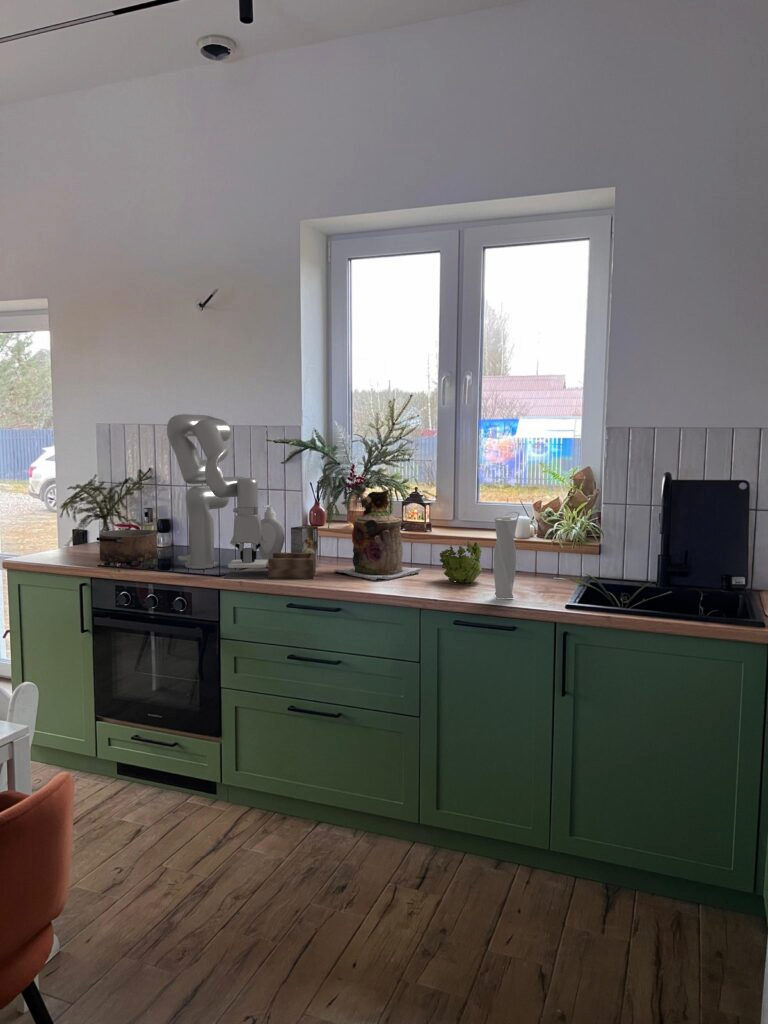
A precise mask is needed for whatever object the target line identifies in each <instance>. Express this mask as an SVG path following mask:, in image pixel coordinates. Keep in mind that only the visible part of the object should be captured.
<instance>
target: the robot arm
mask: <svg viewBox="0 0 768 1024" xmlns="http://www.w3.org/2000/svg"><path fill="white" fill-rule="evenodd" d="M231 434H232V429H231V426H230V425H229V423H228V422H227V421H226V420H224V419H221V418H218V417H213V416H210V415H205V414H191V413H190V414H187V413H185V414H184V413H183V414H175V415H173V416H172V417H170V418H169V420H168V422H167V426H166V435H167V439H168V442H169V444H170V446H171V448H172V450H173V452H174V455H175V457H176V461H177V464H178V467H179V471H180V473H181V477H182V478H183V481H184V483H186V484H188V485H194V486H191V487H189V489H187V491H186V493H185V504H186V509H187V516H188V519H187V520H188V555H187V554H186V556H184V555H178V557H177V560H178V562H185V564H184V567H185V568H186V569H195V570H198V569H199V570H200V569H202V570H203V569H204V570H205V569H206V568H207V569H212V568H213V567H214V568H217V567H219V562H218V561H215V528H214V527H215V522H214V518H213V516H212V514H211V512H210V511H209V510H217V509H224V508H225V507H227V506H228V505H229V501H230V498H236V504H237V505H236V508H233V509H232V510H233V511H232V512H233V513H235V514H236V515H234V521H233V534H232V538H231V540H230V542H229V544H231V545H232V546H234V547H236V549H237V550H238V551H239V554H240V555H239V556H240V558H239V560H242V562H243V549H244V548H245V544H251V545H252V548H253V550H252V562H254V561H255V560H257V550H259V547H260V546H262V545H264V544H266V541H265V539H264V537H263V535H262V525H261V520H262V518H261V515H260V514H259V490H258V489H259V486H258V485H259V482H258V480H257V478H253V477H244V476H243V477H242V476H224V473H223V470H222V469H221V466H220V465H219V463H221V462H223V461H224V460H225V459H226V458H227V457H228V456H229V449H228V447H227V445H226V442H227V441H228V440H229V439H231V436H232V435H231ZM189 437H196V439H197V441H198V443H199V445H200V447H201V449H202V452H203V453H204V456H205V457H206V459H202V458H201V457H200V454H199V451H198V449H197V446H196V445H195V444H194V442H192V440H191V439H190V438H189ZM260 541H261V542H260ZM258 542H260V543H259V544H257V543H258ZM214 568H213V569H214ZM207 569H206V570H207Z"/></svg>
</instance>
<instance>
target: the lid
mask: <svg viewBox="0 0 768 1024" xmlns="http://www.w3.org/2000/svg"><path fill="white" fill-rule="evenodd" d="M252 550H253V547H244V549H243V562H242V559H232V560H231V561H230V562H229V563H228V564H227V568H228V569H230V568H231V569H237V568H239V569H240V568H241V569H243V568H244V569H248V568H249V569H251V568H252V569H255V568H256V569H259V568H262V569H263V568H266V567H265V566H266V565H267V564H268V560H260V559H255V561H254V562H252Z"/></svg>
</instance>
